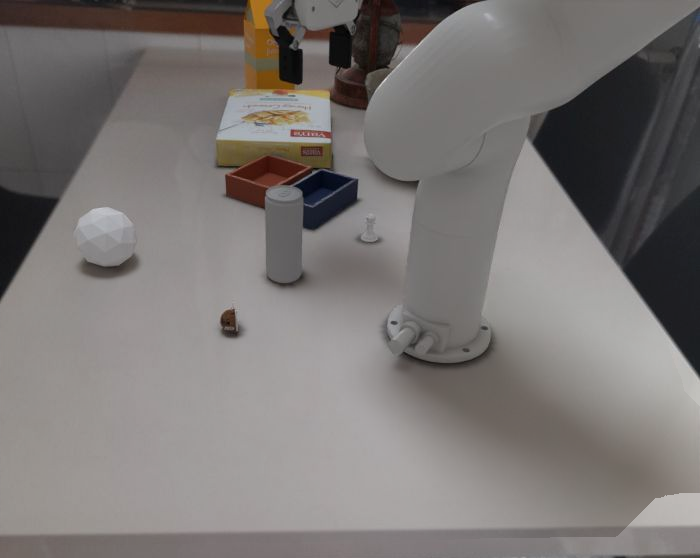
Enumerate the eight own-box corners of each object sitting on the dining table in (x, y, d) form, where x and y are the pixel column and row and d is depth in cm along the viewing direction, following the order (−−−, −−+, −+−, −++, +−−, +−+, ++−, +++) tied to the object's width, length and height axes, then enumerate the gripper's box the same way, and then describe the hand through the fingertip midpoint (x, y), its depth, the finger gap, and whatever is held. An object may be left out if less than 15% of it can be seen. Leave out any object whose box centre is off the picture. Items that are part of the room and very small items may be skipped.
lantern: (330, 80, 169) (335, -66, 151) (410, 86, 169) (425, -60, 151) (324, 106, 153) (329, -53, 136) (413, 112, 153) (429, -46, 136)
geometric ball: (127, 274, 100) (158, 231, 97) (93, 283, 92) (126, 236, 90) (87, 237, 100) (117, 193, 97) (51, 243, 93) (82, 195, 90)
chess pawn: (377, 236, 107) (379, 211, 105) (378, 242, 106) (380, 218, 103) (360, 235, 107) (361, 211, 105) (360, 242, 106) (362, 217, 103)
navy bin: (312, 229, 108) (312, 207, 106) (273, 216, 111) (273, 195, 108) (357, 199, 117) (358, 179, 115) (320, 188, 120) (320, 167, 118)
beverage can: (259, 278, 96) (257, 194, 89) (278, 263, 99) (278, 181, 92) (290, 288, 94) (290, 204, 87) (308, 273, 98) (310, 190, 90)
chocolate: (222, 322, 87) (220, 294, 85) (240, 322, 87) (239, 294, 85) (218, 336, 85) (217, 308, 82) (237, 336, 85) (236, 308, 83)
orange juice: (245, 89, 160) (242, -10, 148) (282, 86, 163) (282, -11, 151) (256, 100, 154) (254, -2, 143) (295, 96, 158) (295, -3, 146)
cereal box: (329, 88, 145) (334, 139, 122) (329, 115, 148) (333, 170, 126) (228, 86, 144) (214, 137, 121) (230, 114, 147) (217, 168, 125)
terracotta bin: (272, 210, 112) (272, 189, 110) (226, 195, 116) (224, 174, 114) (312, 187, 120) (312, 166, 118) (267, 173, 124) (267, 153, 121)
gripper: (294, -79, 71) (294, 96, 81) (390, -87, 83) (380, 67, 93) (239, -87, 75) (245, 82, 85) (338, -93, 86) (334, 56, 96)
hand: (316, 74), depth 89 cm, fingers open, 9 cm apart
